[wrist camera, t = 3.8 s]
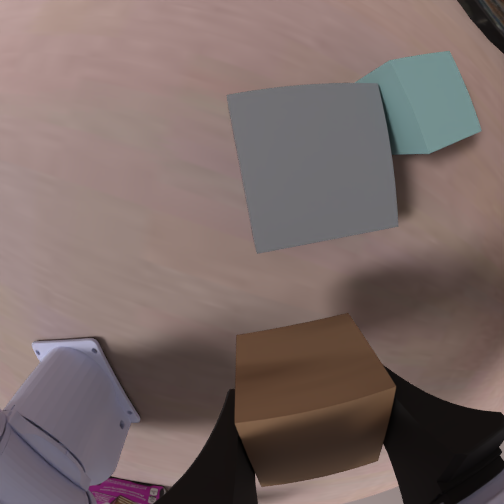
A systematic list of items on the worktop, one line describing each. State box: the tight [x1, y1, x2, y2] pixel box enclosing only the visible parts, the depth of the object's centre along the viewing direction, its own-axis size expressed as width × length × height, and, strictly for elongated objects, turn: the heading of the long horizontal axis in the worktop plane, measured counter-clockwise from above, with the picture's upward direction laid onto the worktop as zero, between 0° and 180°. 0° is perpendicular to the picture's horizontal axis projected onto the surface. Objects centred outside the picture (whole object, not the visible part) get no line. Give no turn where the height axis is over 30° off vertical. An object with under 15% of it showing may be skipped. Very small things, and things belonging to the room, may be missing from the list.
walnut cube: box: [235, 313, 396, 487], centre depth 10 cm, size 5×5×5 cm
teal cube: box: [355, 51, 481, 155], centre depth 13 cm, size 5×5×5 cm
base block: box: [227, 83, 398, 254], centre depth 15 cm, size 8×8×3 cm
